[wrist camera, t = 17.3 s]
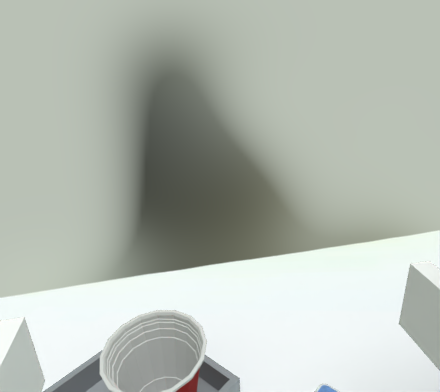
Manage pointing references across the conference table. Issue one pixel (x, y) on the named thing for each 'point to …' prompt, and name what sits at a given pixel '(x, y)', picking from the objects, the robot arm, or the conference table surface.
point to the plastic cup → (154, 354)
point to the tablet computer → (325, 388)
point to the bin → (96, 388)
